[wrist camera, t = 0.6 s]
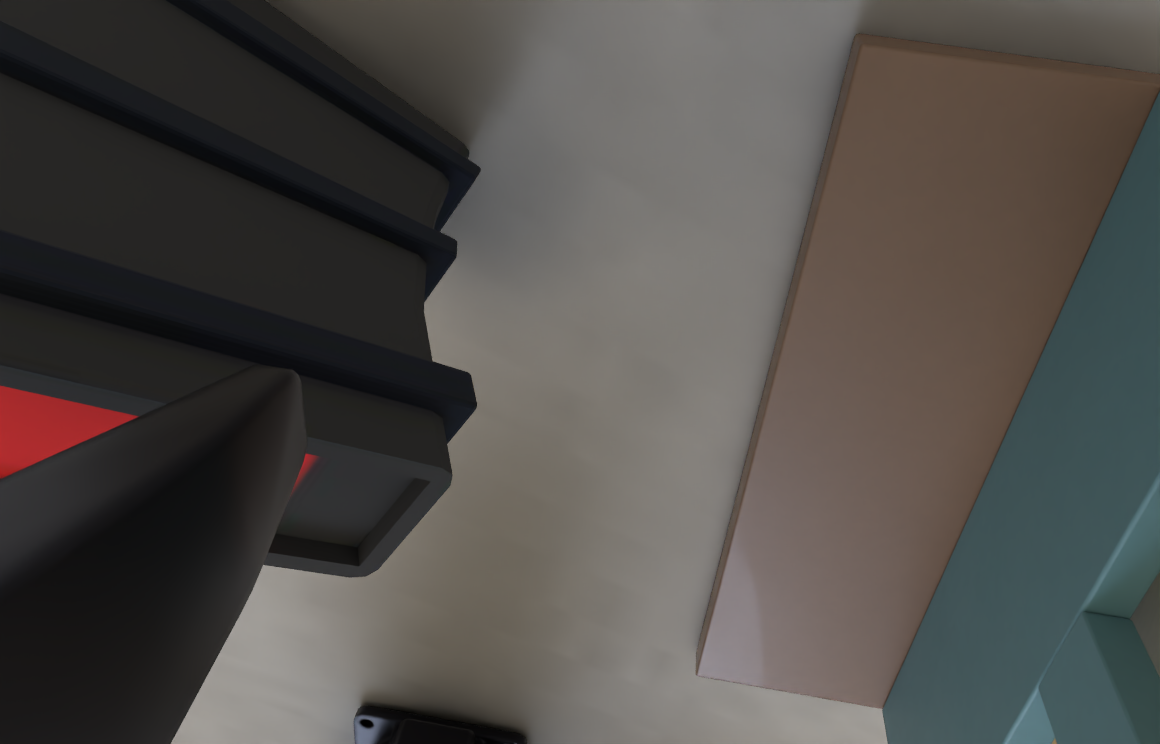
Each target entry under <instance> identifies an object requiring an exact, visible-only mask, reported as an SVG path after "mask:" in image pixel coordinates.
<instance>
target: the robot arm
mask: <svg viewBox="0 0 1160 744" xmlns="http://www.w3.org/2000/svg"><path fill="white" fill-rule="evenodd" d="M306 449H307V431H306V421H305V412H304V402H303V393H302V384H301V380H300V378H299V375H298V374H297V373H296V372H295V371H294V370H292V369H286V368H280V367H273V366H266V365H253V366H250V367H248V368H246V369H243V370H241V371H239V372H237V373H234V374H232V375H230V376H228V377H226V378H223V379H221V380H219V381H217V382H215V383H212V384H210V385H208V386H206V387H203V388H201V389H199V390H197V391H195V392H192V393H190V394H188V395H186V396H183V397H181V398H179V399H177V400H175V401H172V402H170V403H168V404H166V405H164V406H161V407H159V408H157V409H155V410H152V411H150V412H148V413H146V414H144V415H141V416H139V417H137V418H135V419H132V420H130V421H128V422H126V423H124V424H121V425H119V426H117V427H115V428H112V429H110V430H108V431H106V432H104V433H101V434H99V435H97V436H95V437H92V438H90V439H88V440H86V441H84V442H81V443H79V444H77V445H75V446H72V447H70V448H68V449H66V450H64V451H61V452H59V453H57V454H55V455H52V456H50V457H48V458H46V459H44V460H41V461H39V462H37V463H35V464H32V465H30V466H28V467H26V468H24V469H21V470H19V471H17V472H15V473H12V474H10V475H8V476H6V477H4V478H1V479H0V744H171V742H172V740H173V738H174V736H175V734H176V732H177V731H178V729H179V727H180V725H181V723H182V721H183V719H184V718H185V716H186V714H187V712H188V710H189V708H190V706H191V705H192V703H193V701H194V699H195V697H196V695H197V693H198V692H199V690H200V688H201V686H202V684H203V682H204V680H205V679H206V677H207V675H208V673H209V671H210V669H211V667H212V666H213V664H214V662H215V660H216V658H217V656H218V654H219V653H220V651H221V649H222V647H223V645H224V643H225V641H226V640H227V638H228V636H229V634H230V632H231V630H232V628H233V627H234V625H235V623H236V621H237V619H238V617H239V615H240V614H241V612H242V610H243V608H244V606H245V604H246V602H247V600H248V598H249V596H250V594H251V592H252V590H253V587H254V585H255V583H256V580H257V578H258V576H259V573H260V571H261V569H262V566H263V563H264V561H265V558H266V556H267V553H268V551H269V548H270V546H271V543H272V541H273V538H274V536H275V533H276V530H277V528H278V525H279V523H280V520H281V518H282V515H283V513H284V510H285V508H286V505H287V503H288V500H289V497H290V495H291V492H292V490H293V487H294V485H295V482H296V480H297V477H298V475H299V472H300V470H301V467H302V464H303V462H304V458H305V454H306ZM354 734H355V744H527V740H526V739H525V737H524V736H522V735H520V734H518V733H514V732H509V731H503V730H498V729H492V728H487V727H482V726H476V725H471V724H465V723H460V722H454V721H449V720H443V719H438V718H432V717H427V716H421V715H416V714H410V713H405V712H400V711H394V710H389V709H383V708H378V707H372V706H362V707H360V708H359V709H358V711H357V713H356V716H355V718H354Z"/></svg>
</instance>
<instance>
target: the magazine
mask: <svg viewBox="0 0 1160 744" xmlns="http://www.w3.org/2000/svg"><path fill="white" fill-rule="evenodd" d="M468 157H469V150H468V149H467V148H466V146H465V145H464V144H463V143H462V142H460V141H459V140H458V139H456V138H455V137H453V136H452V135H451V134H449V133H448V132H447V131H445V130H444V129H442V128H441V127H440V126H438V125H437V124H435V123H434V122H433V121H431V120H430V119H428V118H427V117H426V116H424V115H423V114H421V113H420V112H419V111H417V110H416V109H414V108H413V107H412V106H410V105H409V104H408V103H406V102H405V101H403V100H402V99H401V98H399V97H398V96H396V95H395V94H394V93H392V92H391V91H389V90H388V89H387V88H385V87H384V86H382V85H381V84H380V83H378V82H377V81H375V80H374V79H373V78H371V77H370V76H368V75H367V74H366V73H364V72H363V71H362V70H360V69H359V68H357V67H356V66H355V65H353V64H352V63H350V62H349V61H348V60H346V59H345V58H343V57H342V56H341V55H339V54H338V53H336V52H335V51H334V50H332V49H331V48H329V47H328V46H327V45H325V44H324V43H323V42H321V41H320V40H318V39H317V38H316V37H314V36H313V35H311V34H310V33H309V32H307V31H306V30H304V29H303V28H302V27H300V26H299V25H297V24H296V23H295V22H293V21H292V20H290V19H289V18H288V17H286V16H285V15H284V14H282V13H281V12H279V11H278V10H277V9H275V8H274V7H272V6H271V5H270V4H268V3H267V2H265V1H264V0H0V479H1V478H4V477H6V476H8V475H10V474H12V473H15V472H17V471H19V470H21V469H24V468H26V467H28V466H30V465H32V464H35V463H37V462H39V461H41V460H44V459H46V458H48V457H50V456H52V455H55V454H57V453H59V452H61V451H64V450H66V449H68V448H70V447H72V446H75V445H77V444H79V443H81V442H84V441H86V440H88V439H90V438H92V437H95V436H97V435H99V434H101V433H104V432H106V431H108V430H110V429H112V428H115V427H117V426H119V425H121V424H124V423H126V422H128V421H130V420H132V419H135V418H137V417H139V416H141V415H144V414H146V413H148V412H150V411H152V410H155V409H157V408H159V407H161V406H164V405H166V404H168V403H170V402H172V401H175V400H177V399H179V398H181V397H183V396H186V395H188V394H190V393H192V392H195V391H197V390H199V389H201V388H203V387H206V386H208V385H210V384H212V383H215V382H217V381H219V380H221V379H223V378H226V377H228V376H230V375H232V374H234V373H237V372H239V371H241V370H243V369H246V368H248V367H250V366H253V365H266V366H273V367H280V368H286V369H292V370H294V371H295V372H296V373H297V374H298V375H299V378H300V380H301V384H302V393H303V402H304V412H305V421H306V431H307V449H306V454H305V458H304V462H303V464H302V467H301V470H300V472H299V475H298V477H297V480H296V482H295V485H294V487H293V490H292V492H291V495H290V497H289V500H288V503H287V505H286V508H285V510H284V513H283V515H282V518H281V520H280V523H279V525H278V528H277V530H276V533H275V536H274V538H273V541H272V543H271V546H270V548H269V551H268V553H267V556H266V558H265V561H264V563H263V565H269V566H275V567H282V568H289V569H296V570H303V571H309V572H316V573H323V574H330V575H337V576H344V577H363V576H367V575H369V574H371V573H373V572H374V571H376V570H378V569H379V568H380V567H381V565H382V564H383V563H384V562H385V561H386V560H387V558H388V557H389V556H390V555H391V554H392V553H393V551H394V550H395V549H396V548H397V547H398V546H399V545H400V543H401V542H402V541H403V540H404V539H405V538H406V536H407V535H408V534H409V533H410V532H411V531H412V529H413V528H414V527H415V526H416V525H417V524H418V522H419V521H420V520H421V519H422V518H423V517H424V515H425V514H426V513H427V512H428V511H429V510H430V509H431V507H432V506H433V505H434V504H435V503H436V502H437V500H438V499H439V498H440V497H441V496H442V495H443V493H444V492H445V491H446V490H447V489H448V488H449V486H450V484H451V480H452V469H451V464H450V458H449V452H448V446H447V444H448V442H449V441H450V440H451V439H452V438H453V436H454V435H455V434H456V433H457V431H458V430H459V429H460V428H461V427H462V425H463V424H464V423H465V422H466V421H467V419H468V418H469V417H470V416H471V415H472V413H473V412H474V411H475V410H476V407H477V402H476V397H475V392H474V388H473V383H472V378H471V375H470V374H469V373H468V372H465V371H462V370H459V369H455V368H452V367H449V366H445V365H442V364H439V363H436V362H433V361H432V356H431V350H430V344H429V339H428V333H427V327H426V322H425V316H424V302H425V301H426V299H427V298H428V296H429V295H430V294H431V292H432V291H433V289H434V288H435V287H436V285H437V284H438V282H439V281H440V280H441V278H442V277H443V275H444V274H445V273H446V271H447V270H448V268H449V267H450V266H451V264H452V263H453V261H454V260H455V259H456V256H457V241H456V240H455V239H453V238H451V237H449V236H447V235H445V234H443V233H441V232H440V230H441V229H442V227H443V226H444V225H445V223H446V222H447V220H448V219H449V217H450V216H451V214H452V213H453V211H454V210H455V209H456V207H457V206H458V204H459V203H460V201H461V200H462V198H463V197H464V195H465V194H466V193H467V191H468V190H469V188H470V187H471V185H472V184H473V182H474V181H475V179H476V178H477V176H478V175H479V173H480V171H481V168H480V167H479V166H477V165H476V164H474V163H473V162H471V161H470V160H468Z"/></svg>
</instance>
